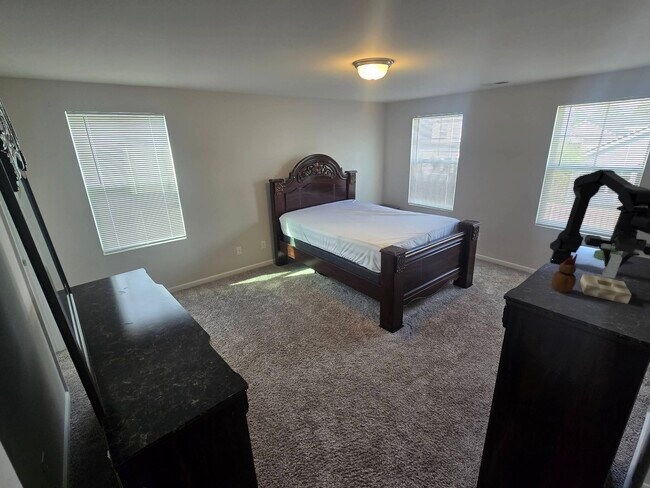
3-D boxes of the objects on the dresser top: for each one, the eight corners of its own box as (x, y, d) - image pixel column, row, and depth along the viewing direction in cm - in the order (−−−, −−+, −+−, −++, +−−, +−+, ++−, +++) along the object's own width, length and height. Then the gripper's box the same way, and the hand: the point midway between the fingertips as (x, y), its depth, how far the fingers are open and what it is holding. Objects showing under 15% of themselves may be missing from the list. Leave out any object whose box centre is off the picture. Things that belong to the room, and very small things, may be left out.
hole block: (583, 294, 111) (586, 285, 110) (579, 282, 121) (582, 273, 119) (627, 304, 105) (631, 294, 104) (619, 290, 114) (623, 281, 113)
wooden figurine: (567, 288, 116) (579, 252, 110) (573, 295, 110) (586, 258, 105) (547, 285, 118) (558, 250, 112) (552, 292, 112) (563, 255, 107)
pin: (603, 276, 110) (611, 255, 107) (602, 273, 112) (609, 253, 110) (614, 278, 109) (622, 257, 106) (612, 275, 111) (620, 255, 108)
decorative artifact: (619, 258, 146) (592, 253, 151) (624, 244, 143) (596, 240, 149) (622, 265, 138) (594, 259, 144) (628, 250, 136) (599, 246, 141)
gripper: (595, 226, 102) (581, 268, 108) (674, 237, 93) (654, 282, 98) (591, 219, 111) (577, 258, 116) (662, 228, 101) (644, 270, 107)
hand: (611, 267), depth 109 cm, fingers closed on pin, 3 cm apart
